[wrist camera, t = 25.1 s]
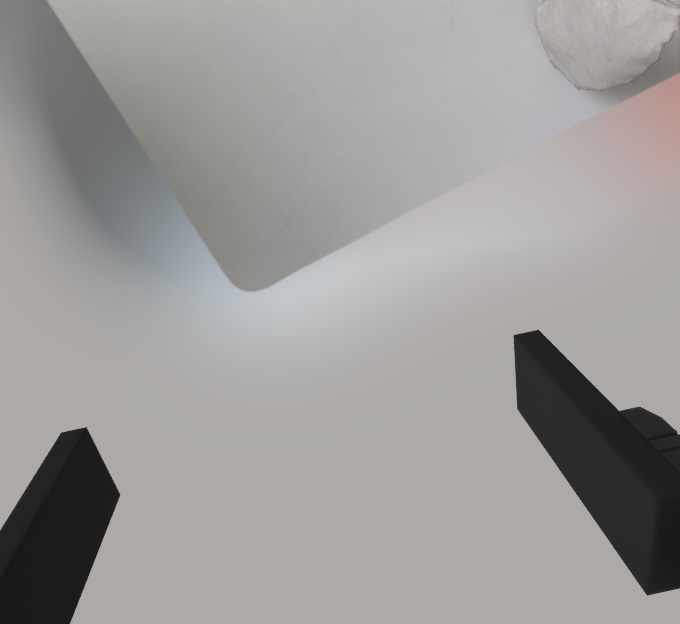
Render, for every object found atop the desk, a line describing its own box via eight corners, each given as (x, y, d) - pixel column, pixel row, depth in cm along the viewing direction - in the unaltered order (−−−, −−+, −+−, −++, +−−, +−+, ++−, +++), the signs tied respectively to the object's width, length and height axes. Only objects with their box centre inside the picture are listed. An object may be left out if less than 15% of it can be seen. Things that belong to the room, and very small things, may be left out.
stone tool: (511, 0, 44) (612, -32, 31) (544, -25, 44) (661, -70, 30) (557, 94, 48) (665, 102, 34) (588, 72, 47) (710, 70, 34)
